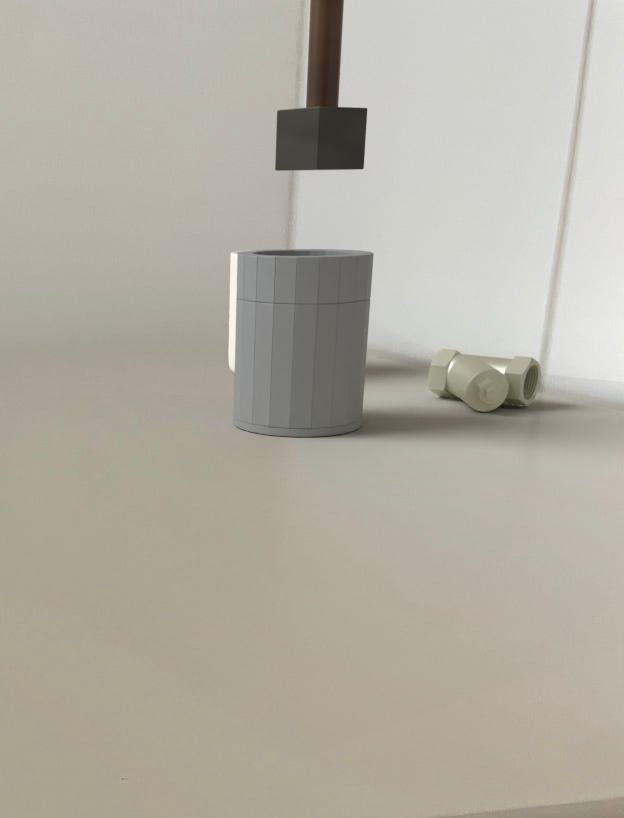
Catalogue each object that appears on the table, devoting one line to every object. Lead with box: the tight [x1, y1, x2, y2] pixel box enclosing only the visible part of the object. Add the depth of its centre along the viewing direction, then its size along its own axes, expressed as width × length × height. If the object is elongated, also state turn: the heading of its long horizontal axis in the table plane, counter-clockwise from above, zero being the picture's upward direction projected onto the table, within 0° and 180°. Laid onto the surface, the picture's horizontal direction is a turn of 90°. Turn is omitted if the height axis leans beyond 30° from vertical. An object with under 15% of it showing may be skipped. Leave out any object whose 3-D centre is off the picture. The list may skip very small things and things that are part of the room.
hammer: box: [274, 0, 368, 172], centre depth 65 cm, size 4×4×16 cm
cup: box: [233, 248, 375, 438], centre depth 78 cm, size 9×9×12 cm
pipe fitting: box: [427, 348, 542, 413], centre depth 85 cm, size 8×4×7 cm
